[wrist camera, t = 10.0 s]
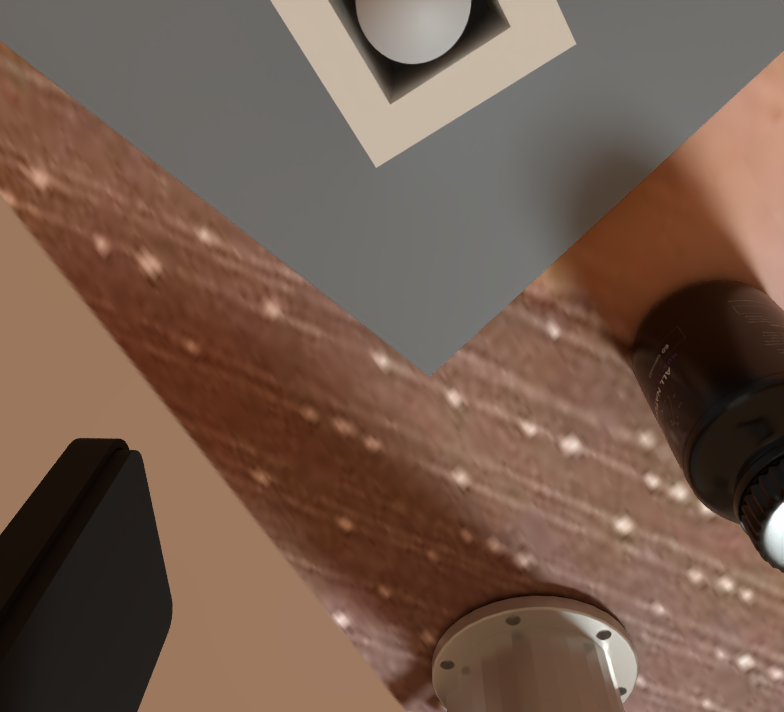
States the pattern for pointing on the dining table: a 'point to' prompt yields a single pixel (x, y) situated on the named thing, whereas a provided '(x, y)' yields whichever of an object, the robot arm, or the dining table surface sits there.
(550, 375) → the dining table surface
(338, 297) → the board
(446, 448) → the dining table surface
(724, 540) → the dining table surface
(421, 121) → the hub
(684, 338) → the supplement bottle
